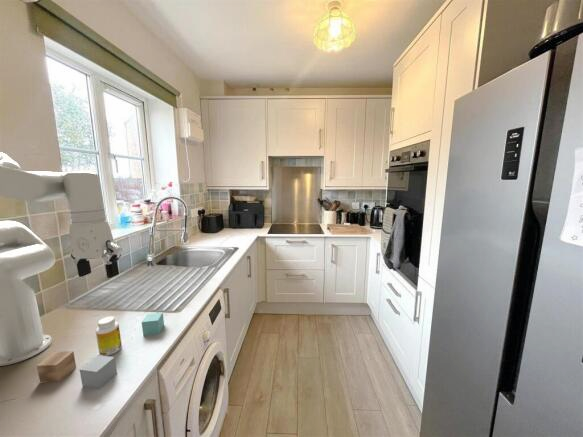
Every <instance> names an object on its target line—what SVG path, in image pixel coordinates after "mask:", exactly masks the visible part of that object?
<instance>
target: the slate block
mask: <svg viewBox="0 0 583 437" xmlns="http://www.w3.org/2000/svg"><path fill="white" fill-rule="evenodd" d="M115 359H116V357H115V356H110V355H108V356H101V355H100V354H98V355H97V356H95V357H94V358H93V359H91V361H89V362H87V363H86V364H85V365H84V366H82V367H81V368H79V373H80V379H81V380H80V381H81V384H82V387H83V388H89V389H93V390H94V389H95V390H101V389H102V388H103V387H104V386H105V385H106V384H107V383H108V382H109V381H110V380H112V379H113V378H114V377H115V376H116V375H117V364H116V360H115Z"/></svg>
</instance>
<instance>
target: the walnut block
mask: <svg viewBox="0 0 583 437" xmlns="http://www.w3.org/2000/svg"><path fill="white" fill-rule="evenodd" d="M76 364H77V363H76V359H75V353H74V350H73V351H71V350H69V351H54V352H53V353H52V354H50V355H49V356H47V357H46V358H44V359H43V360H42V361H40V362H38V364H37V365H36V369H37V374H38V379H39V383H60V382H61V381H62V380H64V379H65V378H66V377H67V376H68V375H69V374H70V373H71V372H72V371H73V370H75V369H76V368H77V365H76Z"/></svg>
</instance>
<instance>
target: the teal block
mask: <svg viewBox="0 0 583 437" xmlns="http://www.w3.org/2000/svg"><path fill="white" fill-rule="evenodd" d="M164 326H165V320H164V313H163V312H155V313H153V312H152V313H147V314H146V315H145V317H144V318H143V320H142V321H141V328H142V335H143V336H144V337H145V336H151V335H159V334H160V333H162V332H161V331H162V330H163V328H164Z"/></svg>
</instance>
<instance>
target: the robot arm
mask: <svg viewBox="0 0 583 437" xmlns="http://www.w3.org/2000/svg"><path fill="white" fill-rule="evenodd" d="M0 197H2V198H3V197H4V198H6V199H12V200H16V201H20V202H26V203H38V202H39V203H40V202H49V201H51V202H52V201H64V200H66V202H67V207H68V212H69V217H70V218H69V219H70V224H69V231H68V232H69V244H70V246H68V247H67V250H68V252H69V254H70V257H71V258H72V259H73V262H74V264H75V265H76V268H77V275H78V277H79V278H81V277H84V276H87V275H89V274H91V273H92V268H91V263H90V260H99V259H103V261H104V262H105V263H106V264H105V265H104V267H105V272H106V277H107V279H112V278H113V277H116V276H117V275H119V274H120V272H119V271H120V270H119V265H118V262H119V260H120V258H121V257H122V251H123V247H122V246H120V245H118V244H116V243H115V241H114V237H113V234H112V230H111V227H110V224H109V221H108V220H107V215H106V210H105V203H104V198H103V192H102V185H101V179H100V176H99V175H98V174H97V172H94V171H70V172H60V171H59V172H57V171H54V172H53V171H27V170H26V171H25V170H22V169H21V166H20V164H18V163H17V162H16V161H14V160H13V159H12V158H11V157H9V156H8V155H7V154H6V153H3V152H1V151H0ZM55 263H56V255H55V252H54V251H53V250H52V248H51V247H50V246H49V245H48V244H46V243H45V241H43V239H41V238H40V237H39V236H37V235H36V234H35V233H34V232H33V231H32V230H31V229H29V228H28V227H27V226H26V225H24V224H22V223H20V222H17V221H15V220H0V367H3V366H9V365H13V364H16V363H20V362H22V361H25V360H27V359H29V358H33V357H34V356H36V355H38V354H40V353H42V352H43V351H45V350H46V349H47V348H48V347H49V346H50V345H51V343H52V341H53V340H52V336H51V335H49V334H44V331H43V330H44V329H43V326H42V321H41V316H40V312H39V307H38V301H37V297H36V292H35V291H34V289H33V288H32V287H31V286H29V284H27V283H25V282H24V281H23V280H24V279H27V278H29V277H32V276H35V275H39V274H40V273H42V272H46V271H48V270H50V269H51V268H52V267H54V265H55Z"/></svg>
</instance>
